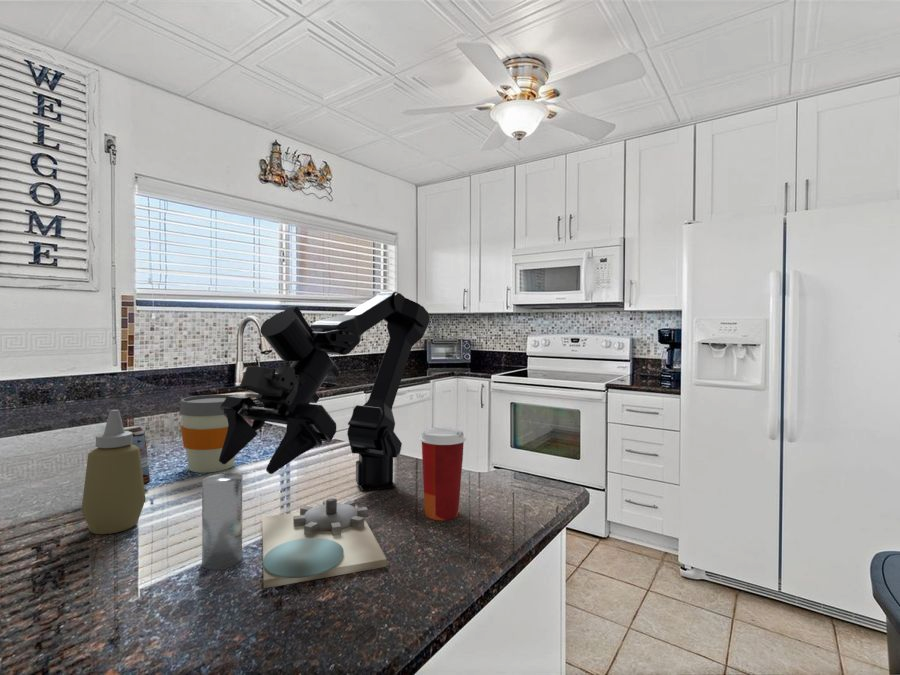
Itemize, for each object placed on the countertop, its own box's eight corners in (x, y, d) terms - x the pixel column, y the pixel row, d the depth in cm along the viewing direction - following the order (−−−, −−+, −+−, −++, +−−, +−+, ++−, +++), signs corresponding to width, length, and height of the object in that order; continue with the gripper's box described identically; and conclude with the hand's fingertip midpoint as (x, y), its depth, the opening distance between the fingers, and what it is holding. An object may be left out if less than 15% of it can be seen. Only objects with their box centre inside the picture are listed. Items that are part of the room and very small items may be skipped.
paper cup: (469, 509, 83) (471, 428, 82) (456, 526, 75) (457, 438, 75) (428, 502, 85) (429, 425, 85) (410, 519, 78) (411, 433, 78)
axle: (242, 550, 66) (243, 471, 66) (241, 566, 62) (242, 482, 62) (203, 555, 64) (204, 475, 64) (200, 572, 60) (200, 486, 60)
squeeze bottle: (103, 517, 77) (103, 405, 76) (156, 516, 77) (156, 406, 77) (67, 539, 69) (67, 415, 68) (126, 538, 69) (126, 415, 69)
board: (359, 509, 82) (360, 484, 82) (393, 569, 62) (393, 537, 62) (262, 521, 76) (262, 495, 76) (263, 592, 56) (264, 557, 56)
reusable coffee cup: (254, 464, 107) (255, 397, 106) (200, 479, 96) (200, 405, 96) (222, 455, 114) (222, 392, 113) (167, 468, 103) (167, 399, 103)
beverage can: (130, 498, 85) (130, 431, 85) (96, 494, 87) (96, 429, 86) (158, 486, 91) (159, 424, 91) (126, 483, 93) (126, 422, 92)
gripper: (231, 344, 75) (161, 426, 65) (324, 348, 66) (260, 443, 57) (269, 389, 82) (212, 469, 72) (358, 397, 74) (306, 489, 64)
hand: (244, 467), depth 66 cm, fingers open, 9 cm apart
